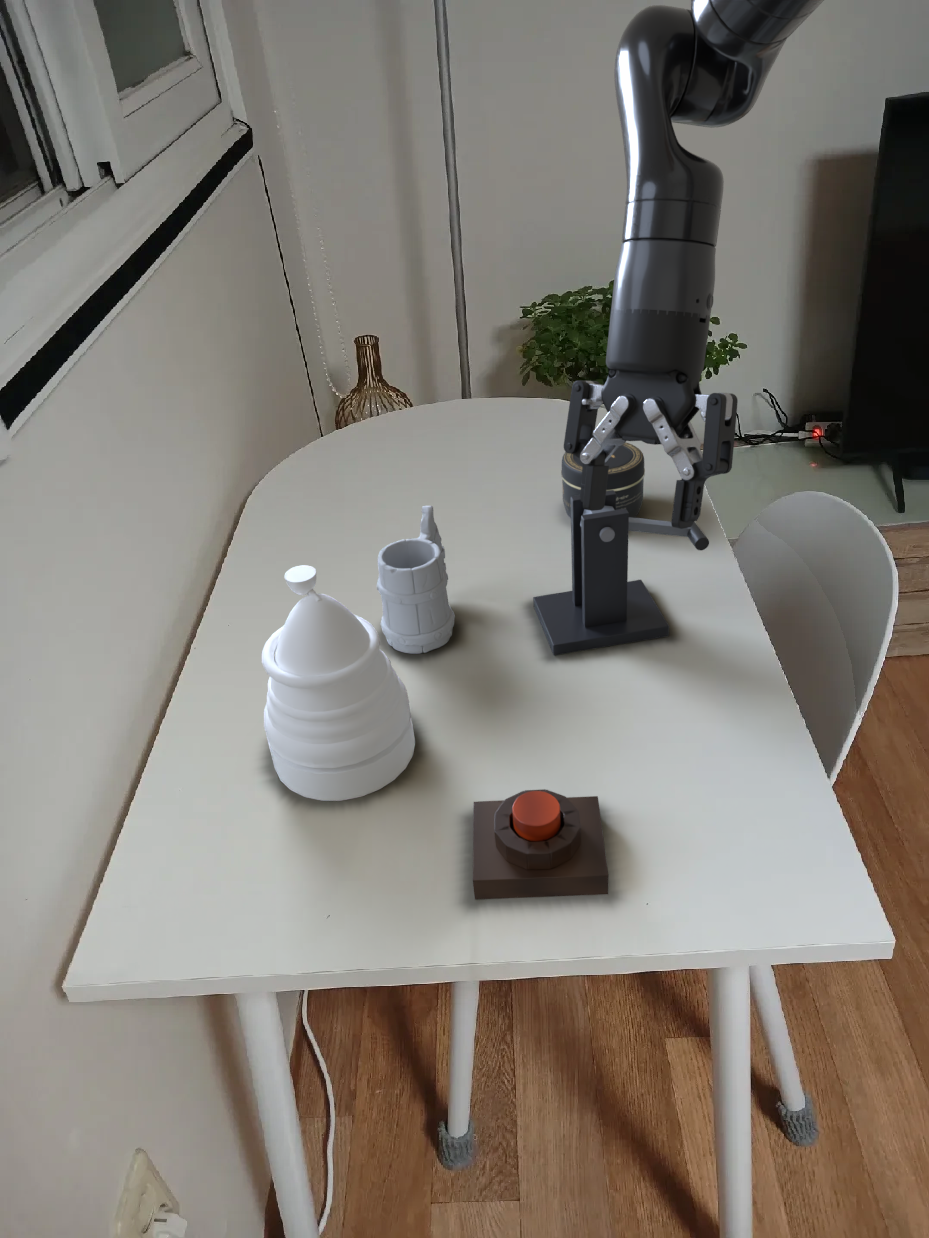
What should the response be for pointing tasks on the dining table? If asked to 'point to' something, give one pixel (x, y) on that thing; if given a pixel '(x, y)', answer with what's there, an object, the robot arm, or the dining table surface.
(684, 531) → the switch lever
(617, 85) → the robot arm
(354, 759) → the honey pot
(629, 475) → the jar
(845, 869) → the dining table surface
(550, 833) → the button
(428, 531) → the mug
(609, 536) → the dark stand
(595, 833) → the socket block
